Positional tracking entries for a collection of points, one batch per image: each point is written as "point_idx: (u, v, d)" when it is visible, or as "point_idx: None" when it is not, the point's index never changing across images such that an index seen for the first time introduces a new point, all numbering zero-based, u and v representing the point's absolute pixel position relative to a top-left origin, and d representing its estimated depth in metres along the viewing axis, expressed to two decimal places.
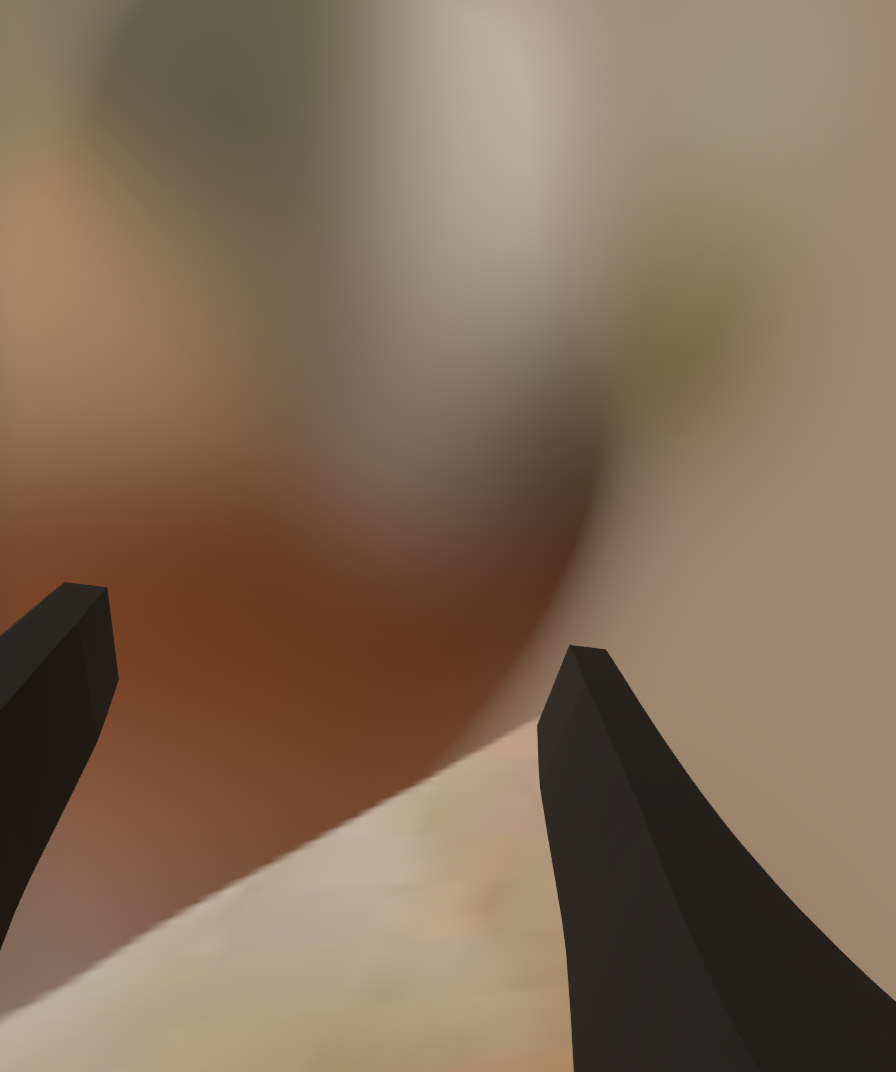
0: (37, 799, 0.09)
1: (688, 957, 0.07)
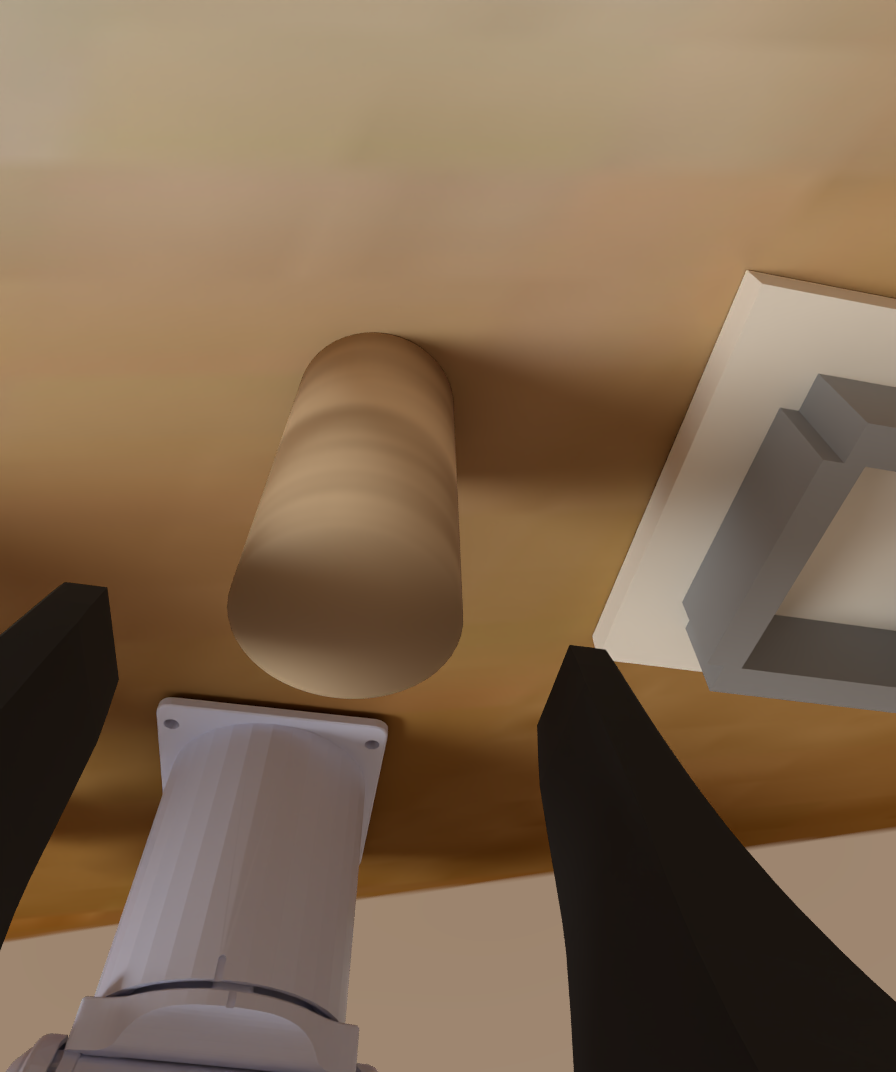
0: (37, 799, 0.09)
1: (688, 955, 0.07)
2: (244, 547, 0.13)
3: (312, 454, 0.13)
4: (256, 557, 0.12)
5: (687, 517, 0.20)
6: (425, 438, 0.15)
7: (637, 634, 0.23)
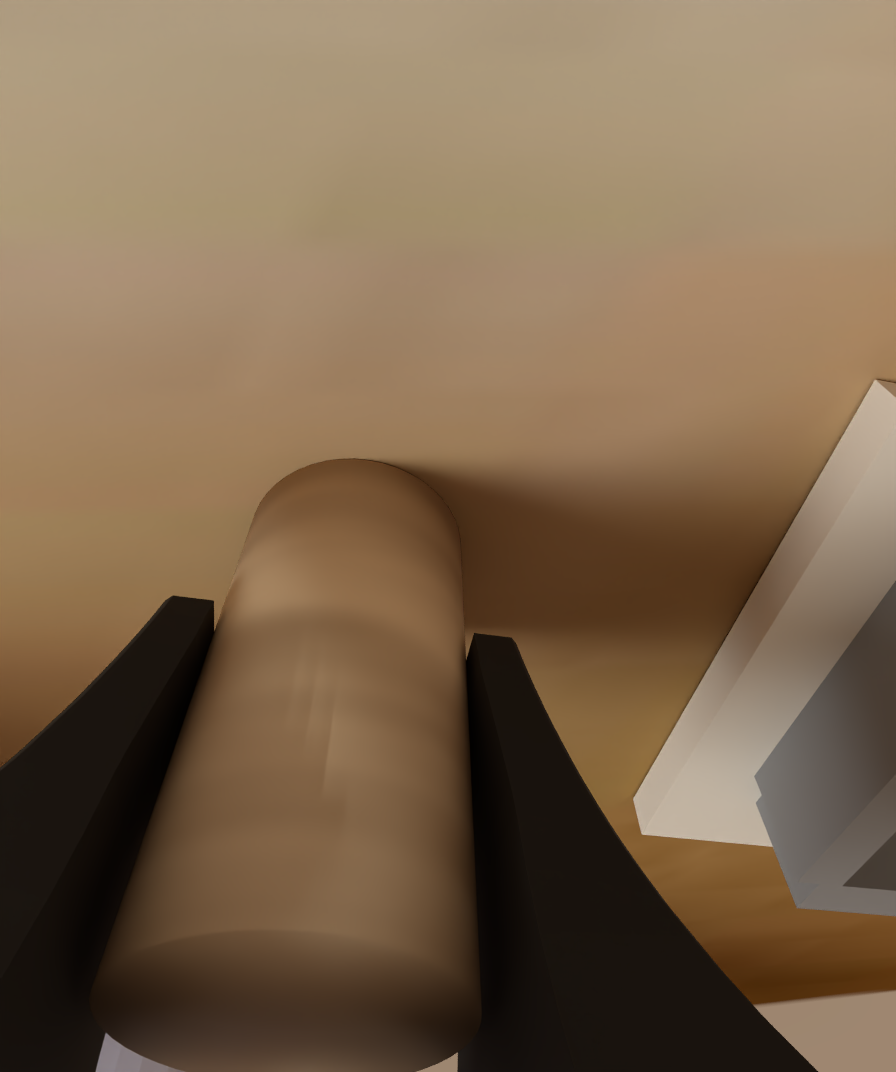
0: None
1: (535, 945, 0.07)
2: (124, 894, 0.08)
3: (242, 718, 0.08)
4: (126, 963, 0.07)
5: (771, 685, 0.15)
6: (421, 659, 0.10)
7: (694, 809, 0.18)
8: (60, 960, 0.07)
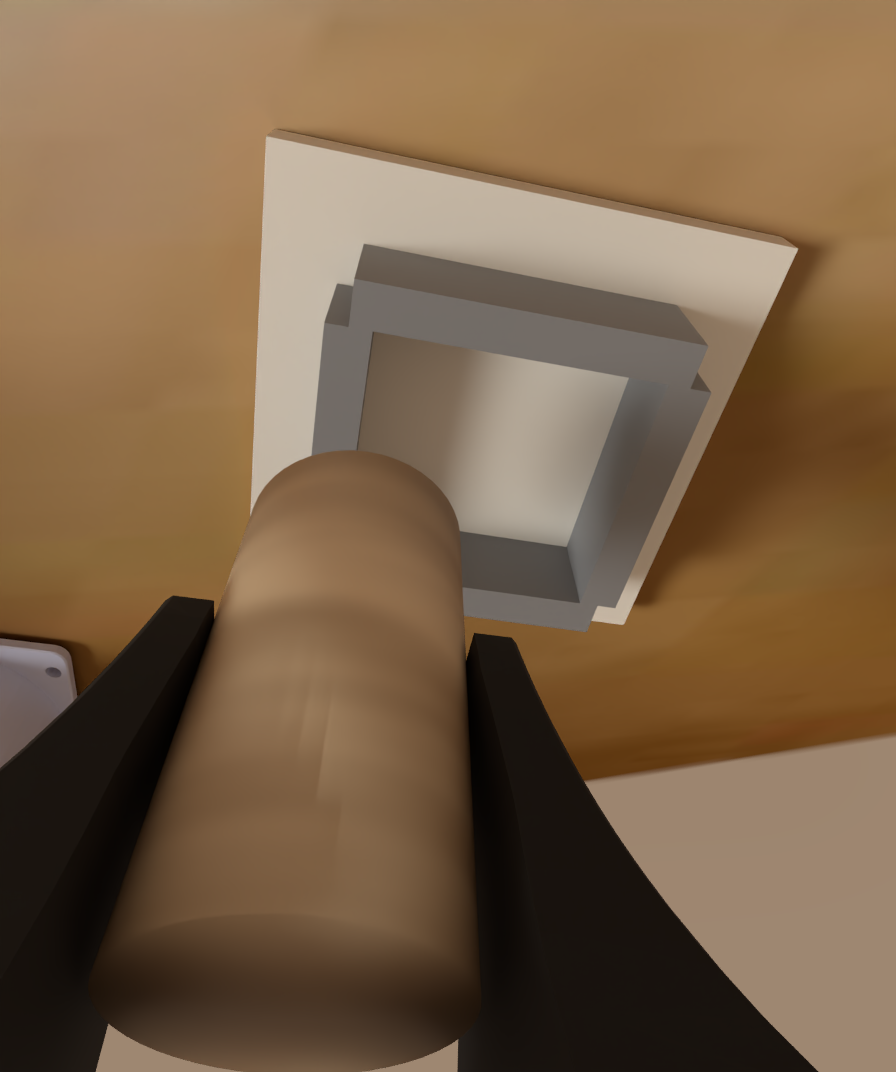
0: None
1: (535, 945, 0.07)
2: (122, 882, 0.08)
3: (239, 706, 0.08)
4: (125, 948, 0.07)
5: (284, 411, 0.19)
6: (419, 647, 0.10)
7: None
8: (60, 960, 0.07)
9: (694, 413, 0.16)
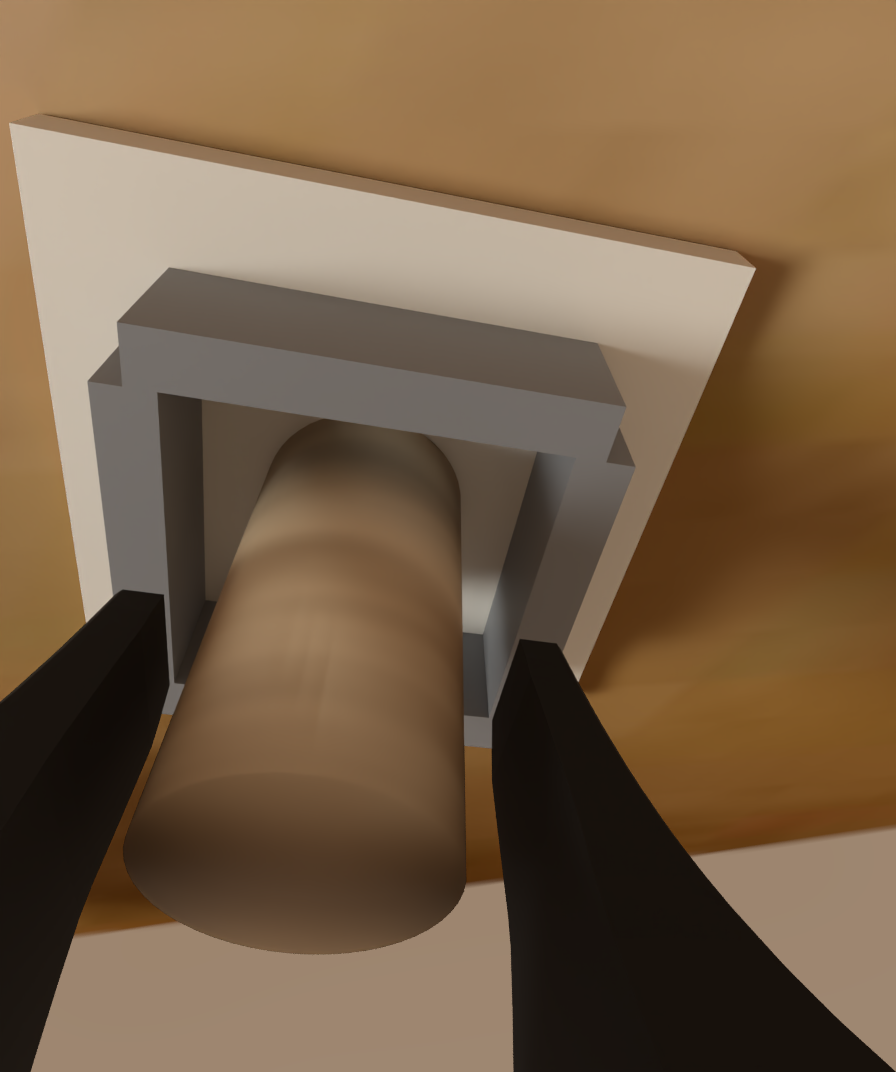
0: (101, 805, 0.10)
1: (608, 950, 0.07)
2: (153, 765, 0.09)
3: (256, 619, 0.09)
4: (158, 807, 0.08)
5: None
6: (418, 579, 0.11)
7: None
8: None
9: (614, 493, 0.12)
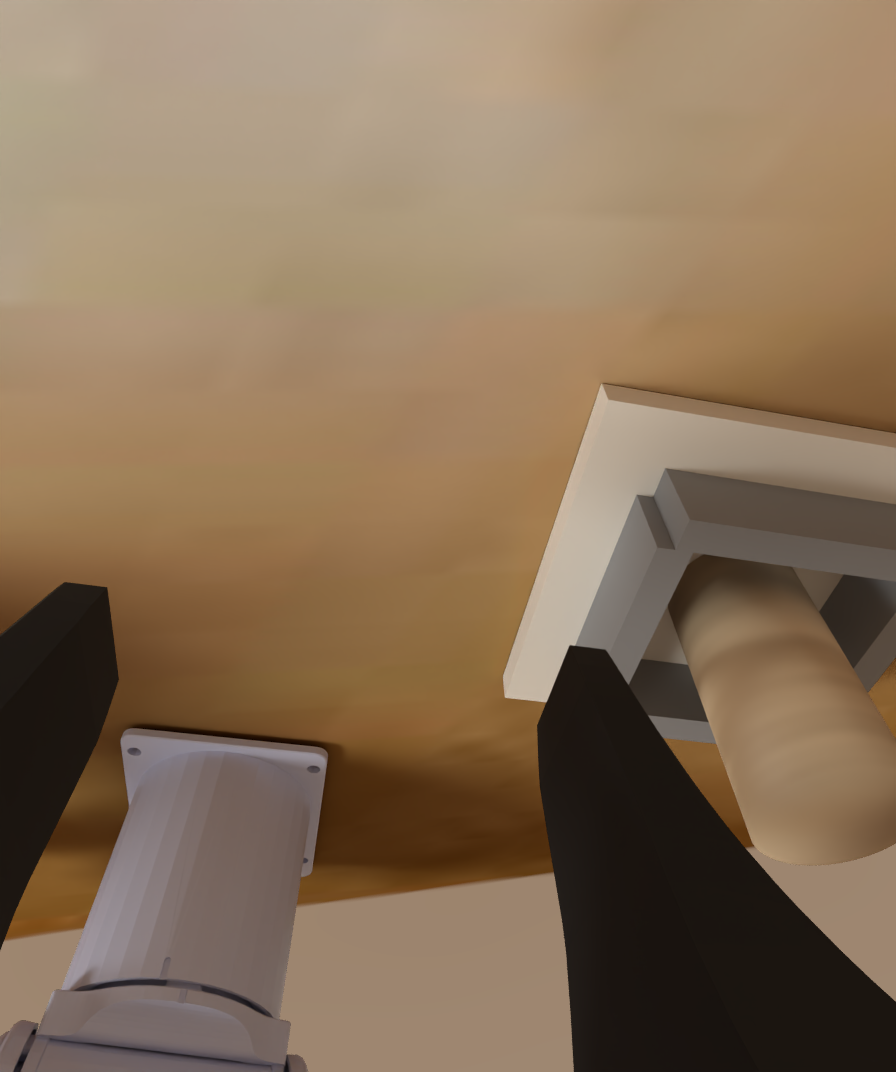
0: (37, 799, 0.09)
1: (689, 956, 0.07)
2: (758, 765, 0.17)
3: (789, 687, 0.18)
4: (797, 786, 0.16)
5: (569, 581, 0.23)
6: (845, 659, 0.19)
7: (537, 677, 0.26)
8: None
9: None
